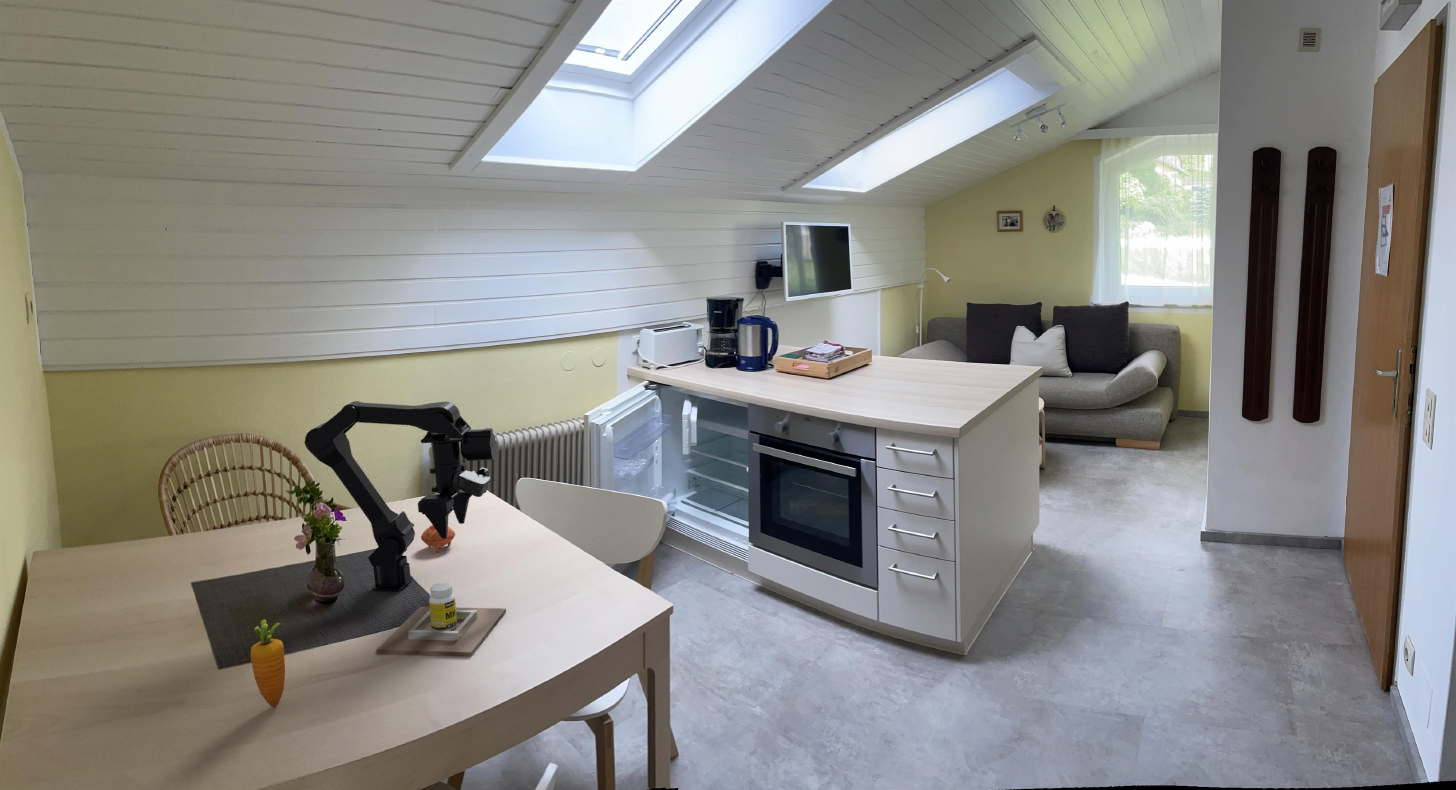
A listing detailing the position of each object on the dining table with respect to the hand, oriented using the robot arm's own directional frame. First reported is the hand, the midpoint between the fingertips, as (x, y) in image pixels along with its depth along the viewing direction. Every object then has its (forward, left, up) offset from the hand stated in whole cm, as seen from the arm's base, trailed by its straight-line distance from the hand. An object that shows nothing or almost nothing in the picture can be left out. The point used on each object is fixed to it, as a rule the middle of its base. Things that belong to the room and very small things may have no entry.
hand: (453, 530), depth 183 cm
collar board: (+7, -23, -12) cm, 27 cm away
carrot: (-10, -50, -12) cm, 52 cm away
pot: (-13, +20, -12) cm, 27 cm away
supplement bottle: (+7, -23, -11) cm, 26 cm away
